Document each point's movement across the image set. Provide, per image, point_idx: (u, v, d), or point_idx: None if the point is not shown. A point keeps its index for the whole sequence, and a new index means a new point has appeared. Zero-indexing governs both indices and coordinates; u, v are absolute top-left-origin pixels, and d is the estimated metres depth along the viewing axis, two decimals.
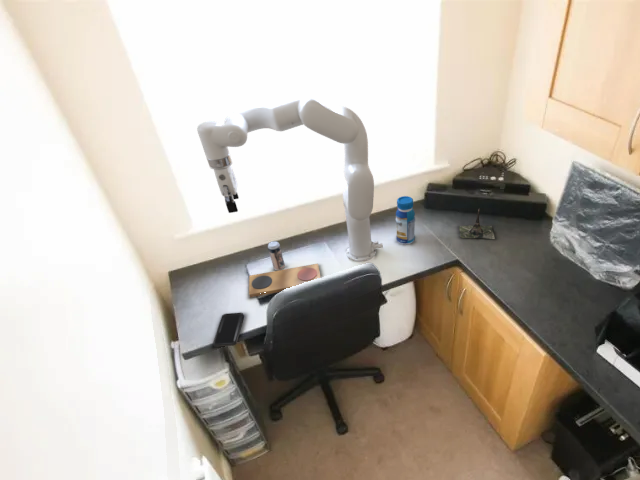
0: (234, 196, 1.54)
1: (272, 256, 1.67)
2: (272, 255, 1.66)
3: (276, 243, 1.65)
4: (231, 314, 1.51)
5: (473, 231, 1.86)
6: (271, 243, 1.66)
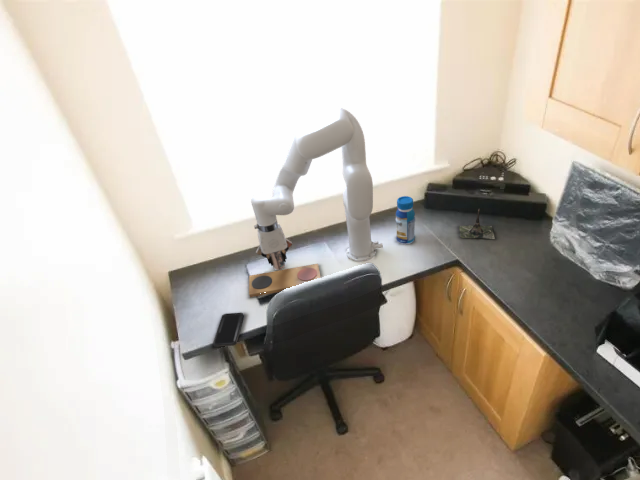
0: (283, 259, 1.71)
1: (272, 256, 1.67)
2: (272, 255, 1.66)
3: None
4: (231, 314, 1.51)
5: (473, 231, 1.86)
6: None
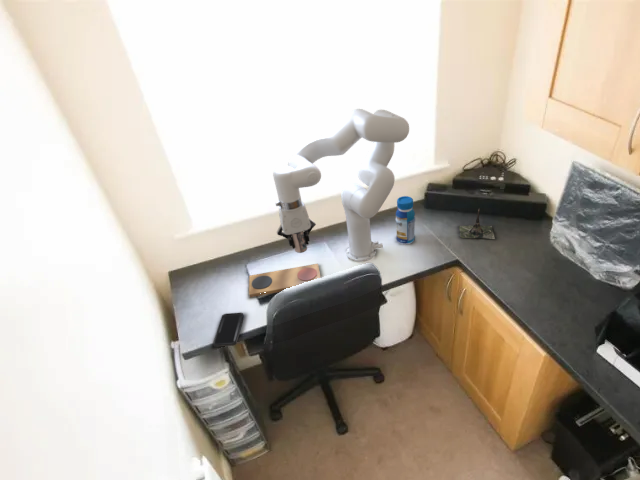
0: None
1: (294, 237, 1.52)
2: (294, 236, 1.52)
3: None
4: (231, 314, 1.51)
5: (473, 231, 1.86)
6: None
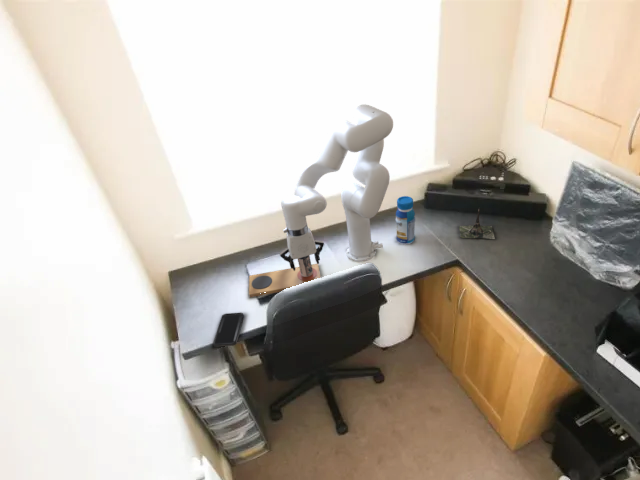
0: (316, 260, 1.63)
1: (300, 262, 1.60)
2: (300, 261, 1.59)
3: None
4: (231, 314, 1.51)
5: (473, 231, 1.86)
6: None
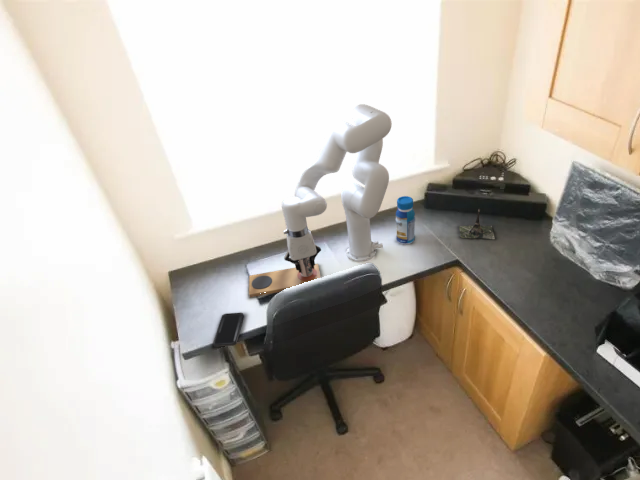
0: None
1: (300, 262, 1.60)
2: (301, 261, 1.59)
3: None
4: (231, 314, 1.51)
5: (473, 231, 1.86)
6: None
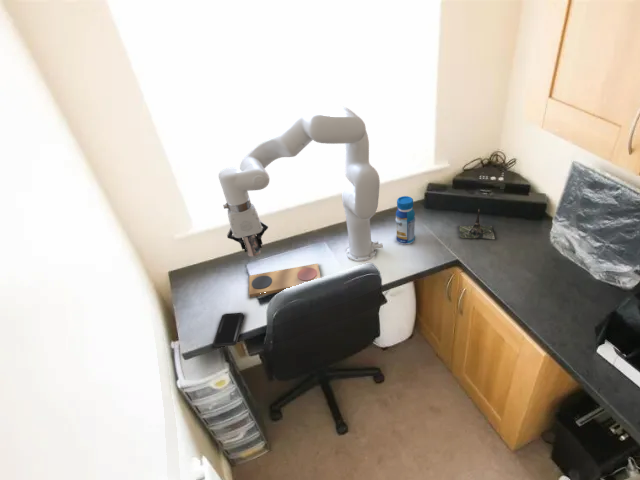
0: None
1: (245, 241, 1.48)
2: (245, 239, 1.48)
3: None
4: (231, 314, 1.51)
5: (473, 231, 1.86)
6: None
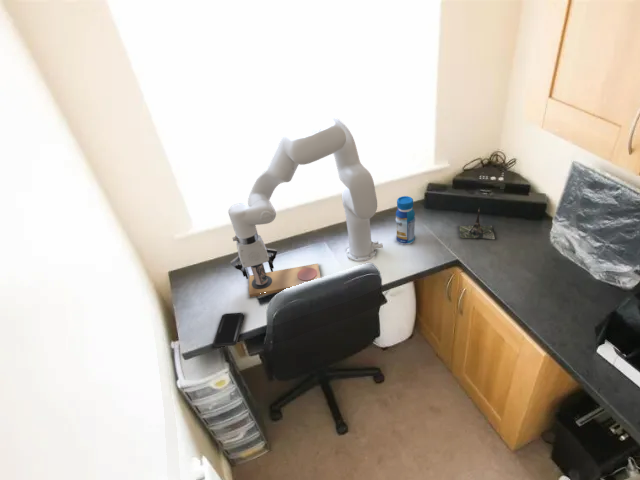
0: (270, 268, 1.61)
1: (253, 271, 1.57)
2: (253, 270, 1.57)
3: None
4: (231, 314, 1.51)
5: (473, 231, 1.86)
6: None
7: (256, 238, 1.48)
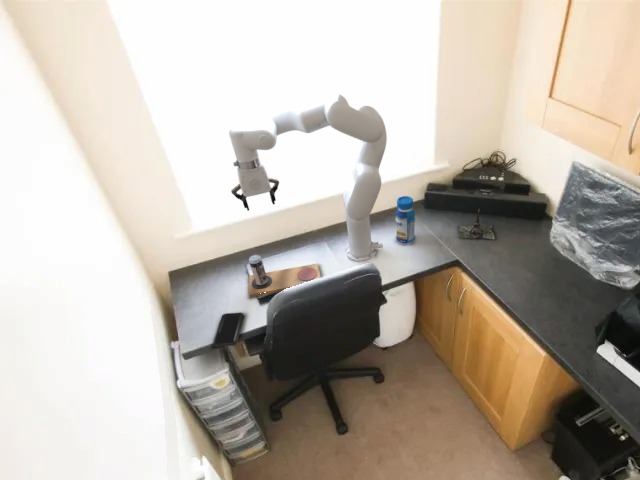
0: (271, 200, 1.56)
1: (253, 271, 1.57)
2: (253, 270, 1.57)
3: (258, 257, 1.56)
4: (231, 314, 1.51)
5: (473, 231, 1.86)
6: (252, 257, 1.56)
7: (258, 163, 1.43)
